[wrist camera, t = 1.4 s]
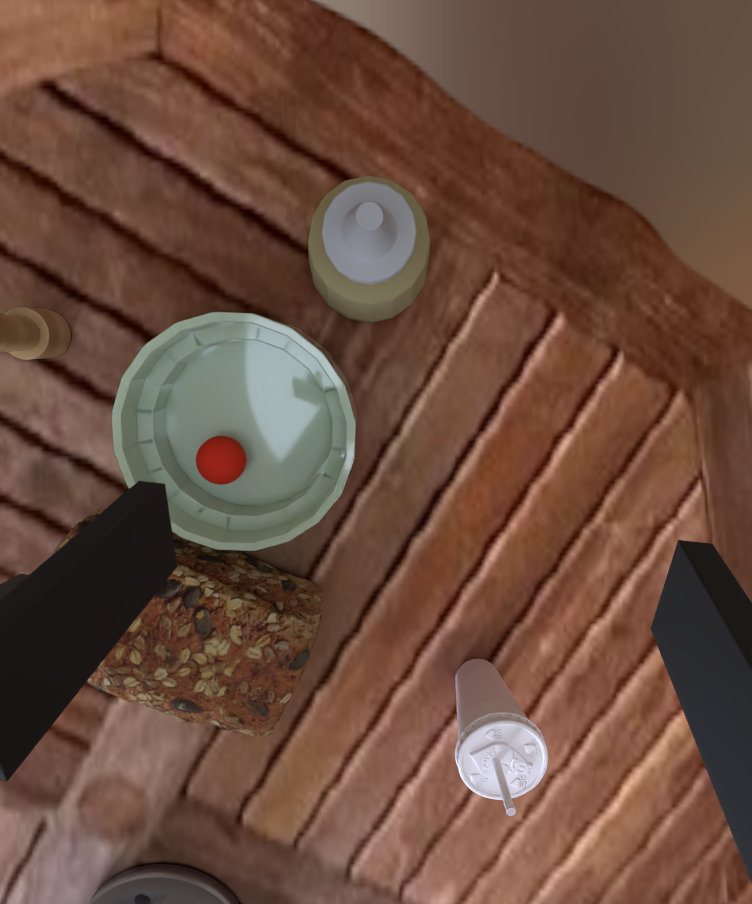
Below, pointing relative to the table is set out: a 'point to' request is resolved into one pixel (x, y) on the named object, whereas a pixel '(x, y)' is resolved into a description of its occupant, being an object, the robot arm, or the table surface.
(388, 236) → the squeeze bottle
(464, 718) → the smoothie
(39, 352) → the muddler
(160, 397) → the bowl
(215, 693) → the bread
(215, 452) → the cherry tomato
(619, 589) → the table surface
